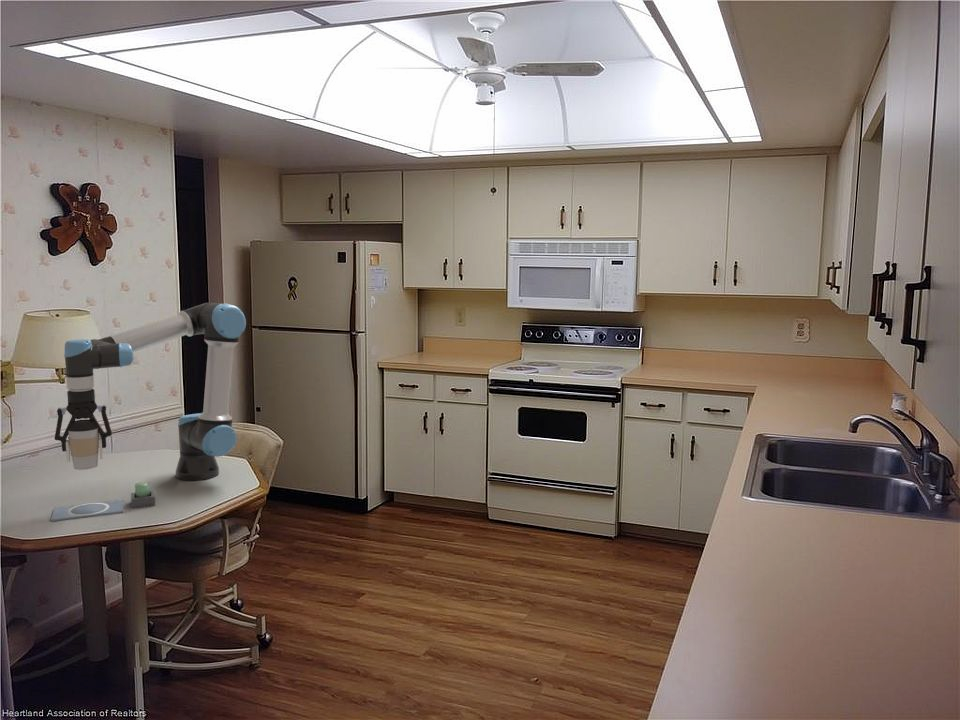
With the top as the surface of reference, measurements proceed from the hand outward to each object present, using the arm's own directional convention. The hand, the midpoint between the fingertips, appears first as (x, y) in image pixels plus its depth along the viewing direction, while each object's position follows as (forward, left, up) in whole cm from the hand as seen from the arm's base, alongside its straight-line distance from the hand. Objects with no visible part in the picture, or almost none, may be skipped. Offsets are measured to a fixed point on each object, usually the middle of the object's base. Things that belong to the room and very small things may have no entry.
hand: (85, 459), depth 238 cm
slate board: (0, 0, -17) cm, 17 cm away
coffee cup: (0, 0, -3) cm, 3 cm away
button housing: (-16, -1, -17) cm, 23 cm away
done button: (-16, -1, -14) cm, 22 cm away
